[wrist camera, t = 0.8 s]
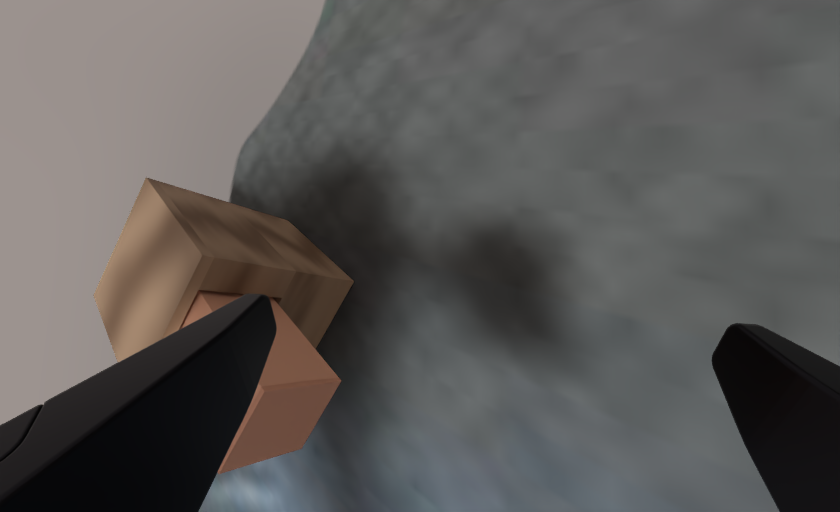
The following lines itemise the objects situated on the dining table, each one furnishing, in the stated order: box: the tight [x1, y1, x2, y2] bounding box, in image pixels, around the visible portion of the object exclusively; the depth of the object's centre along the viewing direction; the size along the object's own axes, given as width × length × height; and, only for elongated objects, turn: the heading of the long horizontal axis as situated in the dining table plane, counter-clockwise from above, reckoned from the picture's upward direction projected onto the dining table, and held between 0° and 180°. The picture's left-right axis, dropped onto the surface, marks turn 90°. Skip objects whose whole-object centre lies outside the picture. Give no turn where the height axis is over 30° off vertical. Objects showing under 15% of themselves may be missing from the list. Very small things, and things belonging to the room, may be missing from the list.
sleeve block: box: [94, 178, 354, 362], centre depth 27 cm, size 10×9×11 cm
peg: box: [179, 290, 341, 474], centre depth 21 cm, size 10×4×4 cm, turn 53°
